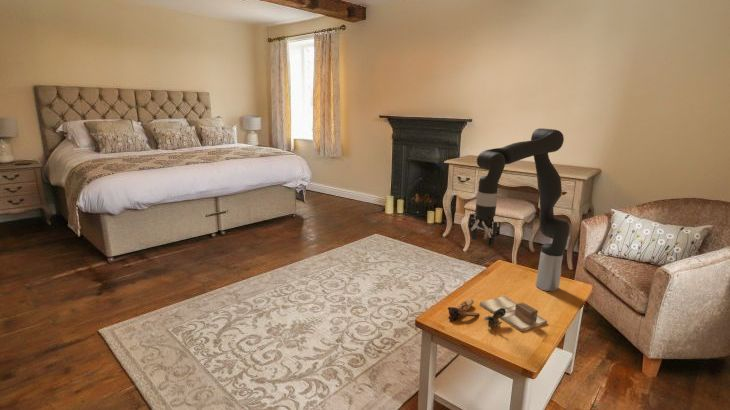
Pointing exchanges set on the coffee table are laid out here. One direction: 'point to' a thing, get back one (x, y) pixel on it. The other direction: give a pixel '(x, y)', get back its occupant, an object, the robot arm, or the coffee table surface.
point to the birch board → (510, 313)
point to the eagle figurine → (496, 317)
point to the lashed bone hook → (461, 310)
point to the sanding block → (526, 313)
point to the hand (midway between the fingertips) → (481, 242)
